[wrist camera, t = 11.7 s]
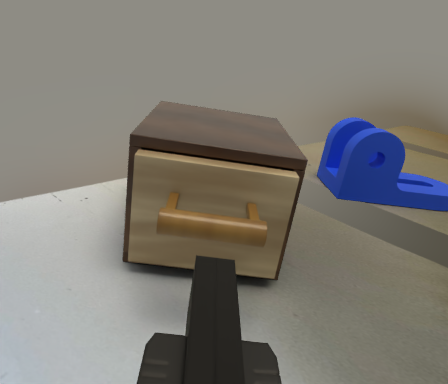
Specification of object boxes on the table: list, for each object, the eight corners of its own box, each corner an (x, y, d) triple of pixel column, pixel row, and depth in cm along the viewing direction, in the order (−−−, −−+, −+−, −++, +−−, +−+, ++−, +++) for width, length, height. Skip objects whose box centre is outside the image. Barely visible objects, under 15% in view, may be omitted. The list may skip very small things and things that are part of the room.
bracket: (337, 198, 46) (358, 128, 42) (316, 175, 53) (333, 114, 50) (466, 213, 48) (496, 148, 44) (429, 189, 55) (452, 131, 52)
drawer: (284, 321, 22) (316, 206, 19) (111, 302, 21) (116, 178, 18) (257, 205, 38) (272, 131, 35) (156, 191, 37) (162, 115, 34)
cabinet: (277, 280, 27) (308, 159, 24) (122, 261, 27) (129, 133, 23) (258, 205, 40) (277, 118, 36) (153, 190, 39) (160, 100, 36)
